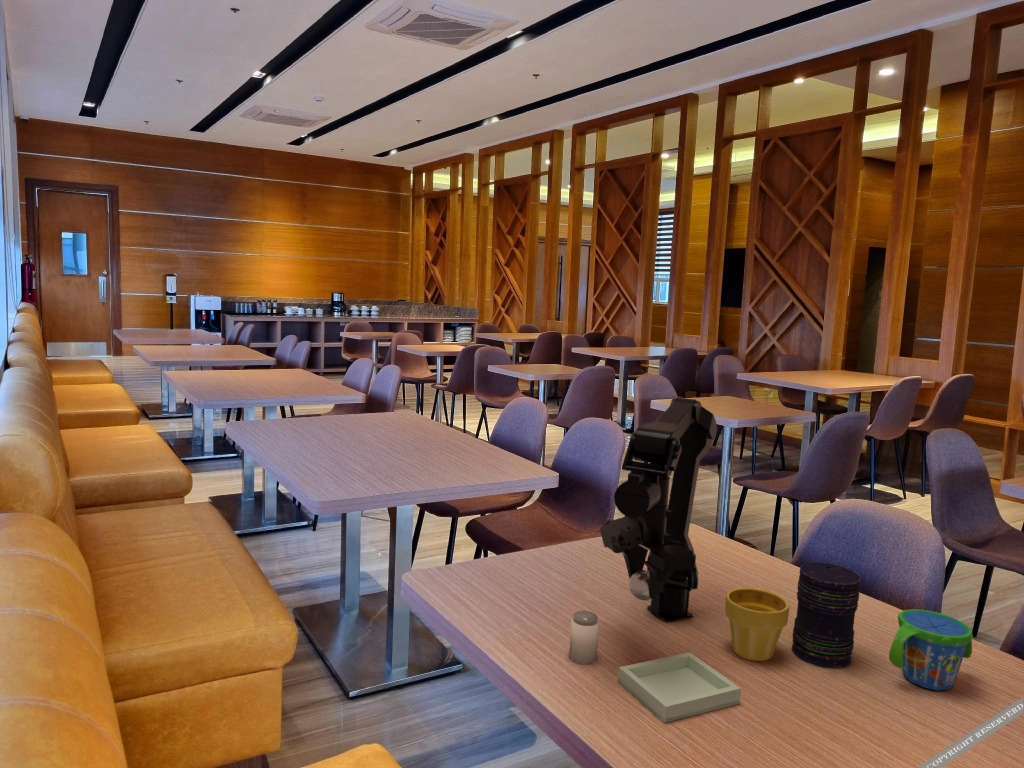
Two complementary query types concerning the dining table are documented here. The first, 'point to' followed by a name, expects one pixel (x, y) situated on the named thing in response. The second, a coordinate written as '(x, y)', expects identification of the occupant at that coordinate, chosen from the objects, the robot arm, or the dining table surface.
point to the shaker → (584, 637)
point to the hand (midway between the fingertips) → (643, 592)
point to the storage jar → (825, 615)
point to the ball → (640, 585)
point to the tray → (678, 686)
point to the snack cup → (930, 648)
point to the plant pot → (755, 621)
